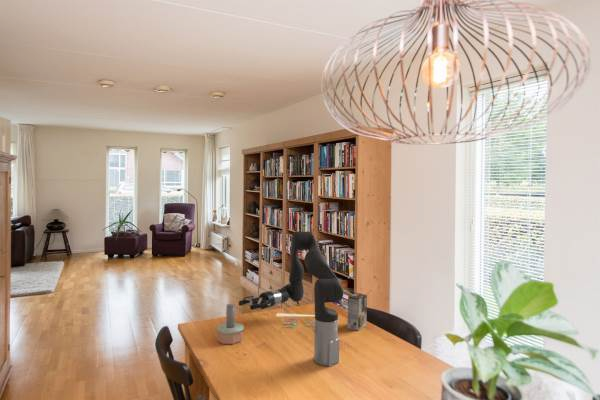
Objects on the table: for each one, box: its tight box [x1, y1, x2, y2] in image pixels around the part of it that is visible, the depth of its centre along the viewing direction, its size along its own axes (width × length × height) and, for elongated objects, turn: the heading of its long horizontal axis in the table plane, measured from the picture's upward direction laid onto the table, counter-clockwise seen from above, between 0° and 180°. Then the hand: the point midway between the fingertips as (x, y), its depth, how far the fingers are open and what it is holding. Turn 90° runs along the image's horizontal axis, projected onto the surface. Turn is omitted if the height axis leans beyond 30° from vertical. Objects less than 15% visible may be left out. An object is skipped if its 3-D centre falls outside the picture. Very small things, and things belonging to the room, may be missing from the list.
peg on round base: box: [216, 303, 245, 334], centre depth 180 cm, size 12×12×11 cm
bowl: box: [217, 331, 243, 345], centre depth 180 cm, size 10×10×5 cm
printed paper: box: [275, 312, 315, 330], centre depth 203 cm, size 30×30×2 cm
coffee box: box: [347, 292, 368, 331], centre depth 200 cm, size 9×6×16 cm
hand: (244, 305), depth 186 cm, fingers open, 8 cm apart
